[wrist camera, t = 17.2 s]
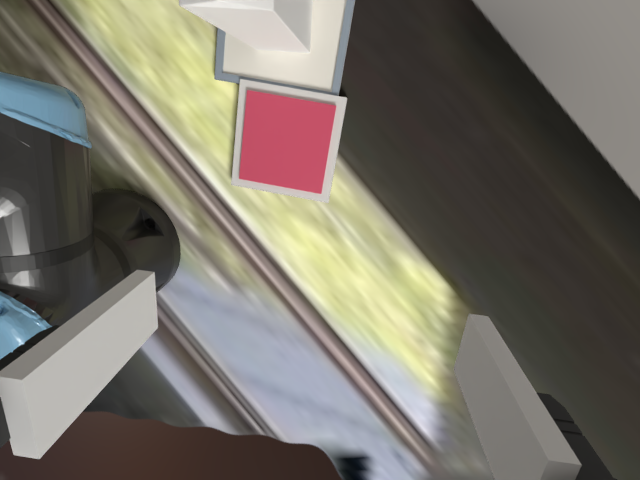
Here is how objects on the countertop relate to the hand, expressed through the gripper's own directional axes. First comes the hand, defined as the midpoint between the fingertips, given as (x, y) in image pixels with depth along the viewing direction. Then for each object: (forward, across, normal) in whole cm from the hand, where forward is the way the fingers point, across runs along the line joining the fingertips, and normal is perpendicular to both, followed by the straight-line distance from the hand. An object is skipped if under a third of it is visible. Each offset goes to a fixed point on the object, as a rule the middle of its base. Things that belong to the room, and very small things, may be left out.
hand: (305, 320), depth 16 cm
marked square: (+31, -8, +16) cm, 36 cm away
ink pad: (+31, -6, +4) cm, 32 cm away
